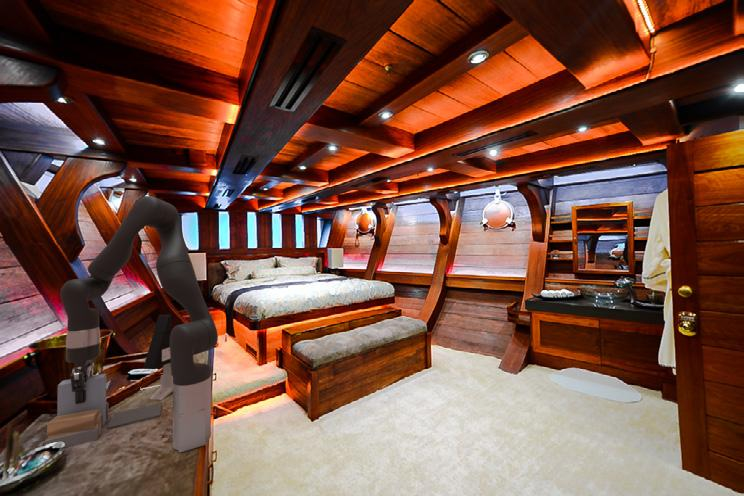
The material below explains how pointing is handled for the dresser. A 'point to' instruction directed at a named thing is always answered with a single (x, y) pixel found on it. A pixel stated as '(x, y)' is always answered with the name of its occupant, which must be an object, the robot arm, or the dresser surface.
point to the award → (161, 355)
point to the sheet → (93, 397)
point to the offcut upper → (73, 422)
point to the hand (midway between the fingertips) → (83, 399)
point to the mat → (135, 415)
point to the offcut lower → (78, 431)
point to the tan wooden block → (79, 435)
